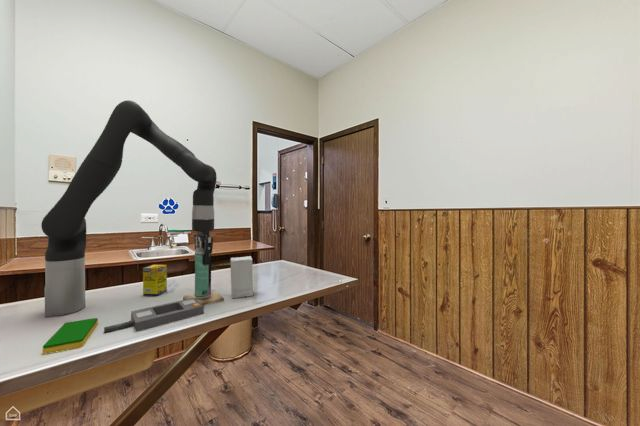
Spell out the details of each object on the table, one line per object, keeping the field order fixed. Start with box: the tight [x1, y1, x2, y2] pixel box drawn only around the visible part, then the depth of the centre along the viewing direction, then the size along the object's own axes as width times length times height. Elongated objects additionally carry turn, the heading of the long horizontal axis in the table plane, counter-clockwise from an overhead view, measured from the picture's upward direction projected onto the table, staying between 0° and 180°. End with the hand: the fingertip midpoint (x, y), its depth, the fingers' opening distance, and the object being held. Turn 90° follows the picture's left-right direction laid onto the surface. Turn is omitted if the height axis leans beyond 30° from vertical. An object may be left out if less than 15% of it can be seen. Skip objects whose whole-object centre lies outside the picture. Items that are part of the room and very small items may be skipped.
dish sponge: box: [42, 317, 99, 355], centre depth 67 cm, size 7×14×2 cm, turn 29°
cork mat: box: [182, 289, 225, 306], centre depth 94 cm, size 11×11×1 cm
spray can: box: [194, 246, 212, 299], centre depth 94 cm, size 6×6×20 cm
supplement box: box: [142, 264, 168, 297], centre depth 100 cm, size 6×6×11 cm
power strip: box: [103, 298, 205, 333], centre depth 78 cm, size 24×10×3 cm, turn 133°
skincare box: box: [230, 255, 254, 299], centre depth 100 cm, size 8×6×15 cm
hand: (203, 263), depth 94 cm, fingers closed on spray can, 5 cm apart
